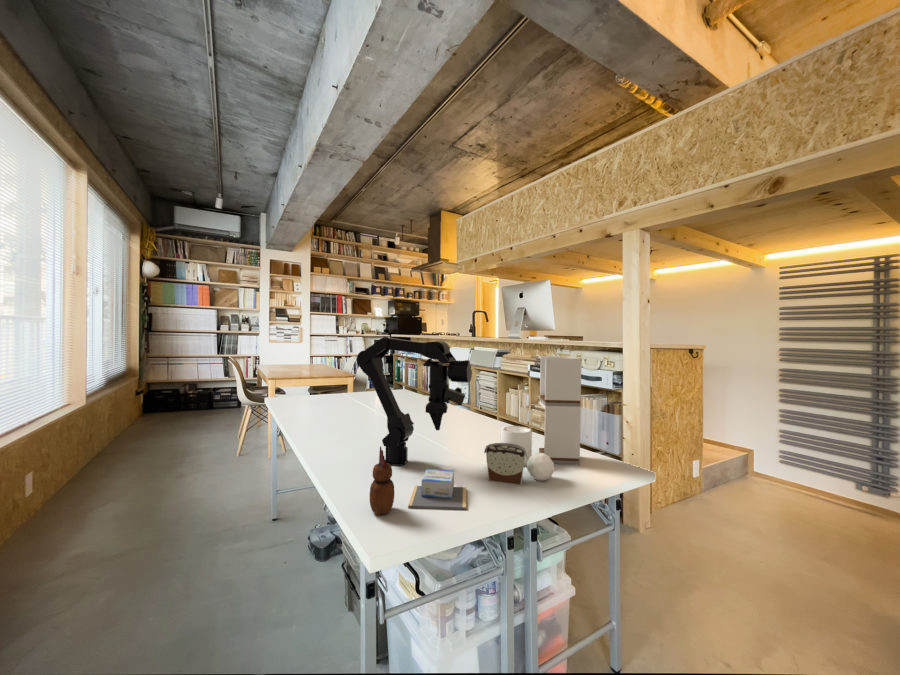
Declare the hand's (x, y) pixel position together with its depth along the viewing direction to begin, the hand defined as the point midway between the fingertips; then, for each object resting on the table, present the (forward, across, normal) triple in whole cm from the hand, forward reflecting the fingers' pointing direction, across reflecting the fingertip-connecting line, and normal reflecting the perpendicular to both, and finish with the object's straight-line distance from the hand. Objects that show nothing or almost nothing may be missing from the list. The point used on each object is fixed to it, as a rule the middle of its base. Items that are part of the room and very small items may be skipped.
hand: (437, 430), depth 119 cm
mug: (+12, +10, -26) cm, 30 cm away
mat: (+12, -22, -2) cm, 25 cm away
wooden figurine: (+12, -30, +11) cm, 34 cm away
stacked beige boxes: (+12, +12, -41) cm, 44 cm away
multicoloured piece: (+12, -8, -21) cm, 26 cm away
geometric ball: (+12, -7, -31) cm, 34 cm away
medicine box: (+9, -15, -2) cm, 17 cm away
